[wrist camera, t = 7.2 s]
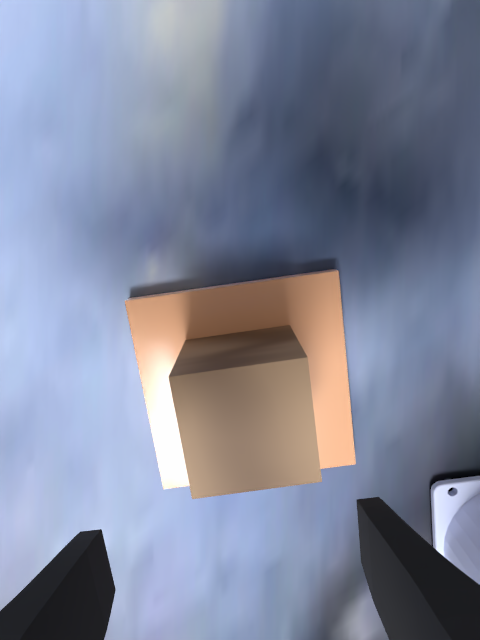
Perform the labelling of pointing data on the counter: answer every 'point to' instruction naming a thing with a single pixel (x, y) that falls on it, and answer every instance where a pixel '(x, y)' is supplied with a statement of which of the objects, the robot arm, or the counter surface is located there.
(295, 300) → the plate
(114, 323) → the counter surface
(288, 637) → the counter surface
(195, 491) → the cube
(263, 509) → the counter surface
